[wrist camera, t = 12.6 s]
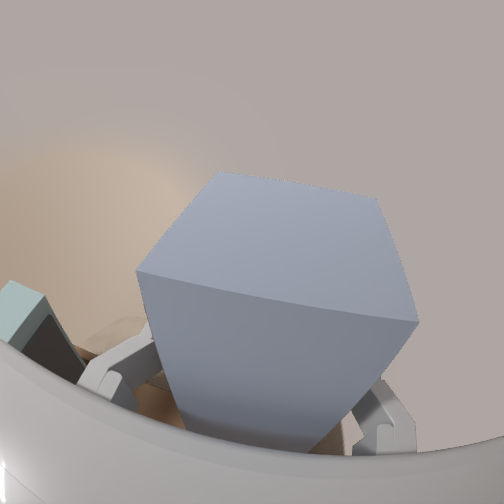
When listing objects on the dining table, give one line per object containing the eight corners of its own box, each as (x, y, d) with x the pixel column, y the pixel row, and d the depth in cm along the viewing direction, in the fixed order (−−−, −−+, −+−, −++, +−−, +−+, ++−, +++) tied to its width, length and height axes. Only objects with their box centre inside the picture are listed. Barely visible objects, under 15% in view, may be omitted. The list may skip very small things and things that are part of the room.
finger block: (191, 453, 13) (117, 265, 5) (213, 385, 17) (206, 170, 9) (284, 472, 12) (419, 321, 4) (295, 401, 16) (376, 198, 8)
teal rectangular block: (50, 405, 21) (-24, 320, 13) (69, 372, 25) (10, 279, 17) (87, 427, 20) (9, 346, 12) (106, 390, 24) (47, 296, 16)
